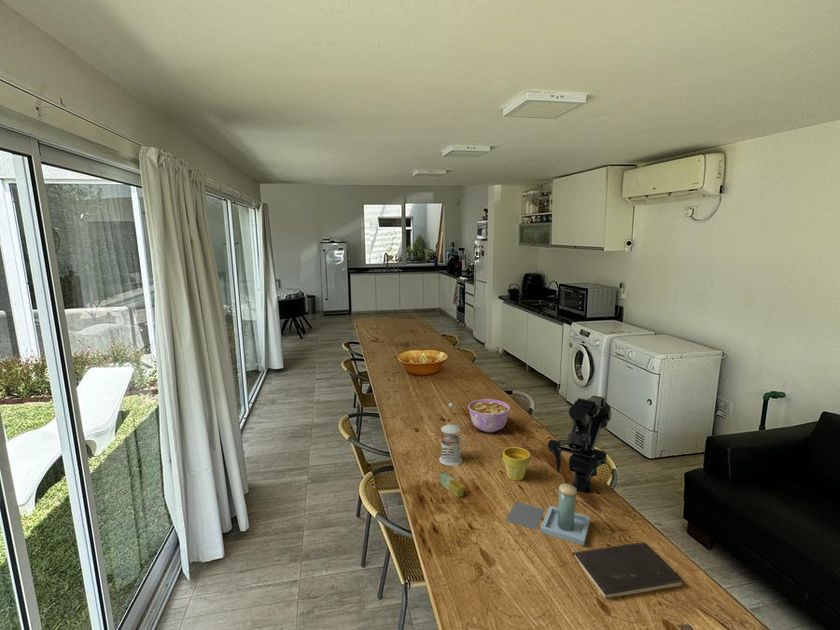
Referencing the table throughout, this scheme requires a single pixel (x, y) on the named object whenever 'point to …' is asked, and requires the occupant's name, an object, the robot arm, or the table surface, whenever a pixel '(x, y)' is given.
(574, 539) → the dish
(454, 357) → the table surface
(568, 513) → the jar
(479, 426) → the bowl of food
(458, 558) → the table surface
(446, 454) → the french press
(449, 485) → the medication box
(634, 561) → the hardcover book
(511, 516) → the mat
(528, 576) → the table surface
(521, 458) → the plant pot
